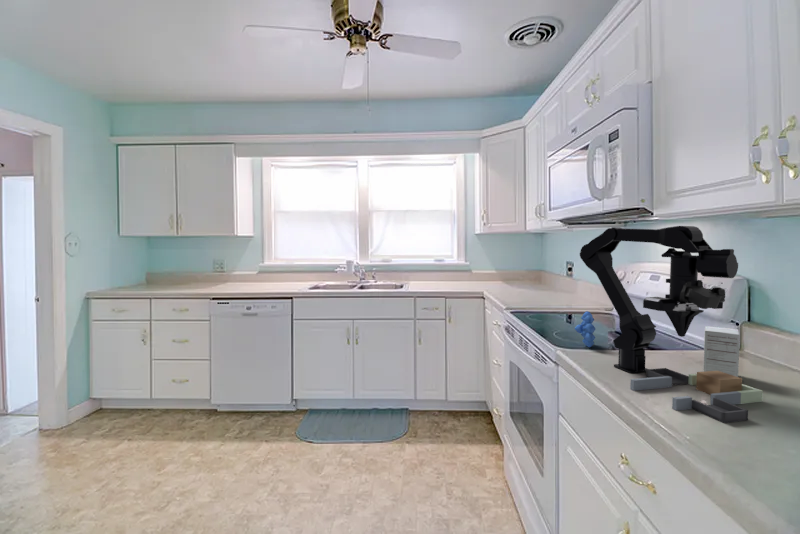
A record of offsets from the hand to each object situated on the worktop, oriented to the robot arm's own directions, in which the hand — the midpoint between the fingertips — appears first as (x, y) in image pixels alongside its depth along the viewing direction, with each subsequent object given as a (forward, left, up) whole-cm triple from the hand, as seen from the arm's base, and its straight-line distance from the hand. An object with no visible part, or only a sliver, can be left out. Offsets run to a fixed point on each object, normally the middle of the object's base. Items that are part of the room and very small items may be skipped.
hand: (681, 336), depth 103 cm
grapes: (-38, 0, -12) cm, 40 cm away
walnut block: (+8, +3, -12) cm, 15 cm away
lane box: (+8, -4, -12) cm, 15 cm away
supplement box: (-2, +15, -12) cm, 20 cm away
